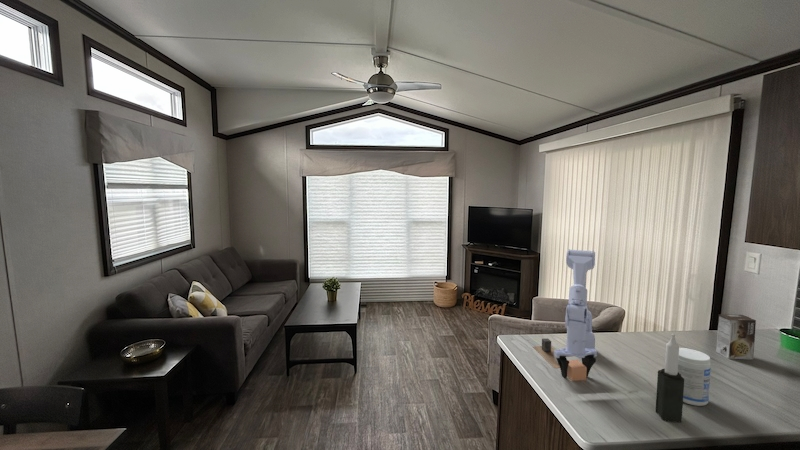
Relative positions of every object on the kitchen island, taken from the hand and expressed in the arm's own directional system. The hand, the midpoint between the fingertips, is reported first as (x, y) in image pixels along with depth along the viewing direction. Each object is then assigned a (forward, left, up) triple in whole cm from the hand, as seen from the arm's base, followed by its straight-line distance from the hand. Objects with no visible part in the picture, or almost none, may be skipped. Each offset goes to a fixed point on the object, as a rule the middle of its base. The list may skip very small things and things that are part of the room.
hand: (574, 375), depth 120 cm
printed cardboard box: (-74, -12, -2) cm, 75 cm away
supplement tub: (-30, +13, -2) cm, 33 cm away
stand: (0, -15, -2) cm, 15 cm away
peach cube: (0, 0, -2) cm, 2 cm away
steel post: (0, -10, 0) cm, 10 cm away
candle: (-16, +21, -2) cm, 26 cm away
